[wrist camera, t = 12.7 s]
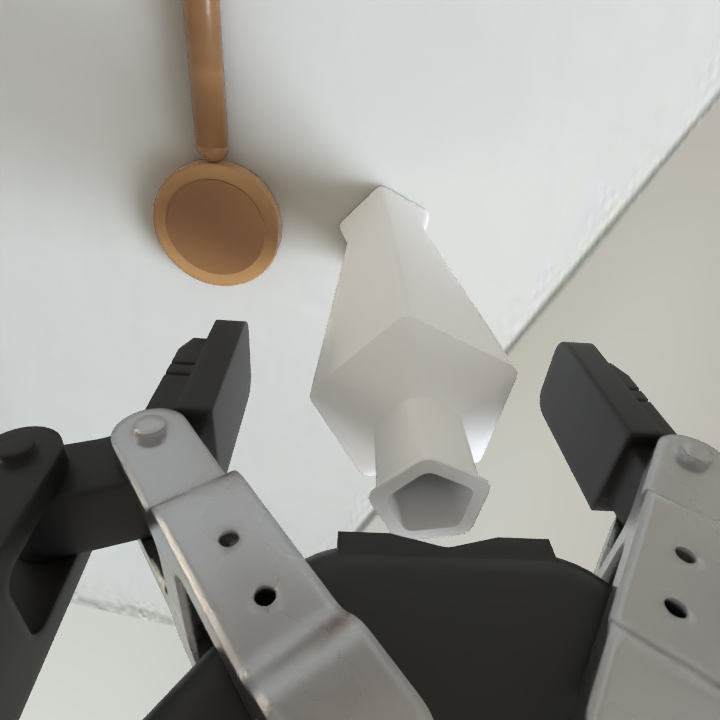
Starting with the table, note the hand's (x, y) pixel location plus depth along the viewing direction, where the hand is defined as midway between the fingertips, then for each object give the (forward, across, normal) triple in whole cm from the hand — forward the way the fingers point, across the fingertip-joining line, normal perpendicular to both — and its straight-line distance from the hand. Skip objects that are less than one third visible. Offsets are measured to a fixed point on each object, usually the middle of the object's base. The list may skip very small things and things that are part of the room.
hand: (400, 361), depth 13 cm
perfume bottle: (+10, 0, 0) cm, 11 cm away
